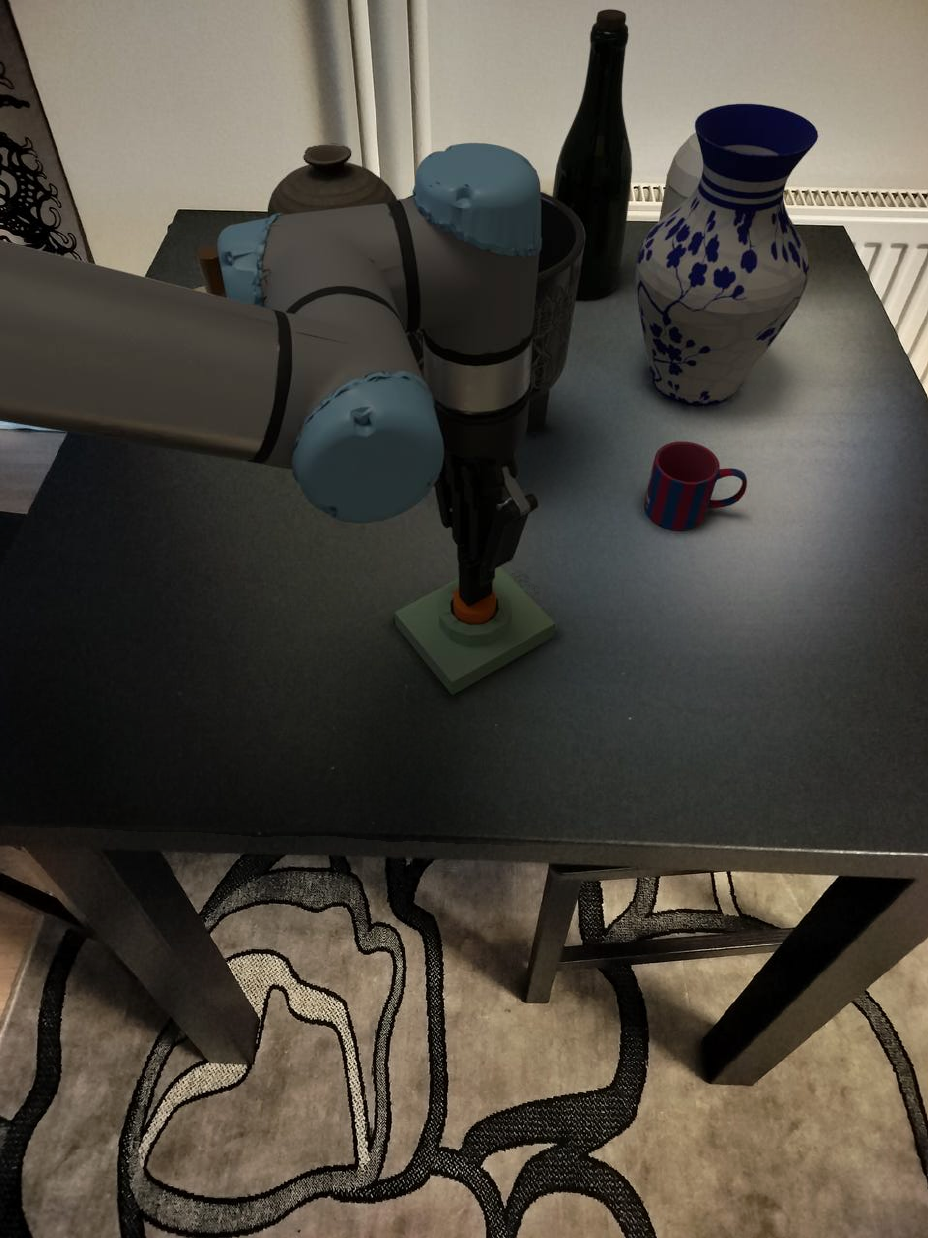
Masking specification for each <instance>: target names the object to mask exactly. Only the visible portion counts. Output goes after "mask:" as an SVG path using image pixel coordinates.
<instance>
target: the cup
mask: <svg viewBox="0 0 928 1238" xmlns="http://www.w3.org/2000/svg"><path fill="white" fill-rule="evenodd" d="M720 467H721V466H720V461H719V458H718V457H717V456H716V454H715V453H714V452H713V451H712V450H711V449H709V448H708V447H705V446H704V445H701V444H699V443H695V442H691V441H673V442H669V443H667V444H665V445H663V446H661V447H660V448H659V449H658V450H657V451H656V453H655V455H654V460H653V464H652V468H651V472H650V478H649V481H648V486H647V490H646V494H645V499H644V504H643V507H644V511H645V513H646V515H647V517H648V518H649V519H650V520H651V521H652V522H653V523H654V524H656V525H657V526H659V527H662V528H664V529H667V530H672V531H687V530H690V529H693V528H696V527H697V526H699V525H700V524H701V523H702V522H703V521H704V520H705V517H706V515H707V512H708V510H712V509H713V510H715V509H721V508H726V507H729V506H732V505H734V504H736V503H738V502H739V501H740V500H741V499H742V498H743V497H744V495H745V493H746V491H747V487H748V478H747V476H746V473H745V472H744V471H742V470H741V469H738V468H730V467H729V468H720ZM726 477H736V478H738V479H740V480H741V486H740V488H739V490H738V491H737V492H736V493H735V494H733V495H732V496H729V497H726V498H722V499H711V498H712V496H713V492H714V490H715V486H716V483H717V482H718V480H721V479H723V478H726Z"/></svg>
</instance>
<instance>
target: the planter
mask: <svg viewBox="0 0 928 1238" xmlns="http://www.w3.org/2000/svg"><path fill="white" fill-rule="evenodd" d="M552 196H553V195H550V194H548V193H545V192H543V191H541V238H542V246H541V250H540V253H539V264H538V275H537V286H536V297H535V309H534V320H533V337H532V354H531V371H530V383H529V410H528V424H527V431H528V432H530V433H531V434H532V435H534V434H536V433H539V432H542V431H544V430H545V428H546V421H547V415H548V406H549V397H550V392H551V391H550V390H551V389H552V388H553V387H554V386H555V384H556V383H557V382H558V381H559V379H560V378H561V376H562V373H563V371H564V369H565V366H566V363H567V362H566V361H567V357H568V349H569V344H570V338H571V333H572V332H571V331H572V326H573V321H574V320H573V318H574V313H575V306H576V300H577V298H576V295H577V289H578V283H579V276H580V270H581V264H582V258H583V252H584V245H585V238H586V236H585V230H584V227H583V225H582V222H581V220H580V219H579V217H578V216H577V215H576V214H575V212H574V211H573V210H571V209H570V208H569V207H568V206H567V205H566V204H564V203H563V202H561V201H559V200H558V199H556V198H554V197H552ZM411 197H413V194H412V195H409V196H407V197H405V198H404V199H406V198H411ZM406 336H407V339H408V341H409V344H410V346H411V349H412V351H413V354H414V356H415V359H416V362H417V364H418V367H419V369H420V372H421V374H422V377H423V379H424V356H423V329H418V330H417V331H413V332H407V333H406ZM424 382H425V379H424Z"/></svg>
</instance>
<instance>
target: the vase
mask: <svg viewBox="0 0 928 1238" xmlns="http://www.w3.org/2000/svg"><path fill="white" fill-rule="evenodd" d="M694 130H695V133H696V134H697V138H698V141H699V145H700V149H701V153H702V158H703V171H702V176H701V179H700V183H699V185H698V186H697V188H696V189H695V191H694V192H693V193H692V194H691V196H690V197H689V198H688V199H687V200H686V201H684V202H683V203H682V204H680V205H679V206H678V207H676V208H675V209H674V210H672V211H671V212H670V213H668V214H667V215H666V216H664V217H663V218H662V219H661V220H660V221H659V220H658V222H657V223H655V225H653V226H652V227H651V229H650V230H649V232H647V234H646V236H645V238H644V240H643V241H642V244H641V247H640V249H639V251H638V254H637V261H636V272H635V286H636V287H635V289H636V293H637V294H636V295H637V297H636V298H637V304H638V312H639V316H640V317H639V318H640V325H641V331H642V336H643V341H644V342H643V343H644V346H645V347H644V348H645V353H646V359H647V363H648V369H649V378H650V383H651V384H652V386H653V388H654V389H655V390H656V391H657V393H659V394H660V395H661V396H663V398H666V399H668V400H669V401H672V402H674V403H677V404H679V405H684V406H688V407H697V408H698V407H699V408H703V407H713V406H717V405H720V404H723V403H725V402H726V401H728V400H729V399H731V398H732V397H733V396H734V394H735V393H736V392H737V390H738V389H739V387H740V386H741V384H742V383H743V382H744V380H745V379H746V378H747V377H748V375H749V374H750V373H751V371H752V370H753V369H754V367H755V366H756V365H757V363H758V362H759V361H760V360H761V358H762V357H763V355H765V353H766V352H767V350H768V349H769V347H770V346H771V345H772V344H773V342H774V341H775V340H776V339H777V337H778V335H779V334H780V333H781V332H782V330H783V329H784V327H785V325H786V324H787V322H788V321H789V320H790V318H791V317H792V315H793V314H794V312H795V311H796V309H797V308H798V306H799V304H800V301H801V299H802V297H803V295H804V292H805V290H806V287H807V285H808V281H809V275H810V273H809V272H810V261H809V255H808V249H807V247H806V244H805V243H804V241H803V239H802V237H801V234H800V232H799V231H798V229H797V227H796V226H795V224H794V223H793V221H792V220H791V217H790V216H789V213H788V211H787V209H786V204H785V200H784V199H785V198H784V196H785V195H784V194H785V189H786V185H787V182H788V179H789V177H790V176H791V174H792V172H793V171H794V169H796V167H797V166H798V164H799V163H800V162H801V161H802V160H803V158H804V157H805V156H806V155H807V154H808V152H810V151H811V149H812V148H813V147H814V146H815V144H817V142H818V139H819V133H818V130H817V128H816V126H815V125H814V124H813V123H812V122H811V121H810V120H808V119H807V118H806V117H804V116H802V115H800V114H798V113H796V112H793V111H790V110H788V109H784V108H781V107H777V106H772V105H766V104H765V105H764V104H760V103H758V104H757V103H730V104H724V105H719V106H715V107H712V108H709V109H707V110H705V111H704V112H702V113H701V114H699V115H698V116H697V118H696V119H695V121H694Z"/></svg>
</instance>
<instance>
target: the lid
mask: <svg viewBox="0 0 928 1238" xmlns="http://www.w3.org/2000/svg"><path fill="white" fill-rule="evenodd" d="M195 254H196V258H197V259H196V260H197V262H198V266H199V270H200V271H199V272H200V273H201V278H202V281H203V285H202V286H198V287H196V288H193V290H197V291H201V292H205V293H209V294H213V295H217V296H220V297H224V298H227V295H226V290H225V286H224V281H223V275H222V270H221V265H220V261H219V254H218V246H216V245H205V246H202V247H200V248H199V249H197V251H196V253H195Z"/></svg>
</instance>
